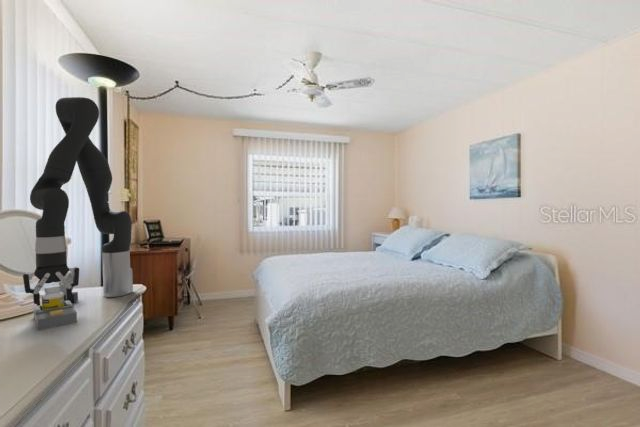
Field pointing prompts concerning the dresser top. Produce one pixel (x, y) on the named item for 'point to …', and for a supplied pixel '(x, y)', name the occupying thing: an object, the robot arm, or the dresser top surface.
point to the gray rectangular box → (54, 316)
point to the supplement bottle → (52, 298)
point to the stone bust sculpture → (74, 294)
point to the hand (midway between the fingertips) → (53, 302)
